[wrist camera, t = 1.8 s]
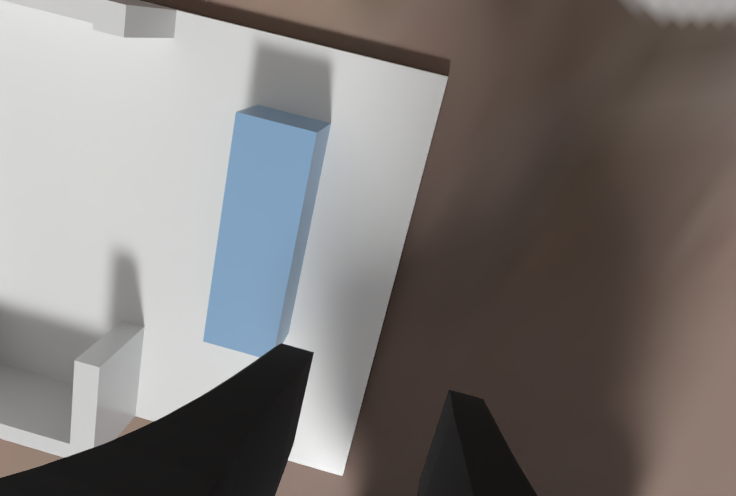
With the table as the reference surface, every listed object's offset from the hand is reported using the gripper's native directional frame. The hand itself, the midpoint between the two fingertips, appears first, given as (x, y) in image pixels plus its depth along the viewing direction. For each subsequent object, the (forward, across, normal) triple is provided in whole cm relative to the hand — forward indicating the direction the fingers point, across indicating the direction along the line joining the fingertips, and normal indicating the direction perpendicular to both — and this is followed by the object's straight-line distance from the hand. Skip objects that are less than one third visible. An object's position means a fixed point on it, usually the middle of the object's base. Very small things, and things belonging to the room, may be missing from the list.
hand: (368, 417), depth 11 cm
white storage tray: (+8, +8, +2) cm, 11 cm away
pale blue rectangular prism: (+8, +4, 0) cm, 9 cm away
